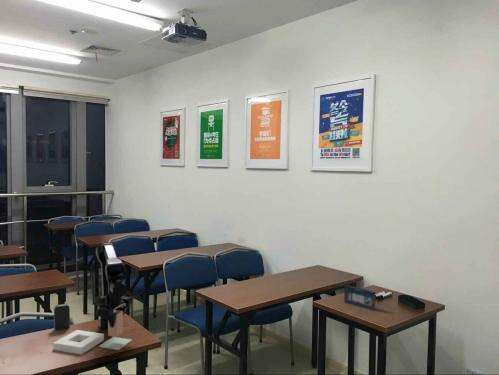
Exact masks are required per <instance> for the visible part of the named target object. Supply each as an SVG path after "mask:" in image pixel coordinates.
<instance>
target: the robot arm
mask: <svg viewBox="0 0 499 375" xmlns="http://www.w3.org/2000/svg"><path fill="white" fill-rule="evenodd" d="M95 256H96V257H97V258H96V259H97V260H98V262H99V263H100V269H101V287H102V288H101V289H102V290H101V291H102V295H101V296H97V297H95V299H94V304H95V306H97V309H96V310H95V312H96V316H97V317H99V320H100V322H99V323H100V324H99V326H98V327H97V328H98V329H100V330H101V329H103V330H108V321H109V324H110V326H111V327H112V328H113V327H114V324H115V320H116V316H117V313H115V310H120V311H123V317H124V316H125V314H126V312H127V309H128V308H129V306H131V305H132V304H134V299H133V298H132V297H130V296H125V295H126V293H127V291H128V290H127V286H126V285H125V283H124V282H123V280H125V279H127V273H128V272H127V270H126V269H127V268H126V266H125V264H124V263H123V262H122V259H120V258H118V257H117V254H116V246H115V244H114V242H106V243H105V242H104V243H102V244H100V245H99V246H96V248H95ZM126 304H127V305H126Z"/></svg>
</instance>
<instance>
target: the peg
mask: <svg viewBox="0 0 499 375" xmlns="http://www.w3.org/2000/svg"><path fill="white" fill-rule="evenodd" d="M115 313H117V316H116V320H115V324H114V327H113V328H112V327H111V326H110V324H109V321H108V329H107V336H109V337H118V338H119V337H120V336H121V335H122V334H123V333H124V316H123V311H120V310H115Z"/></svg>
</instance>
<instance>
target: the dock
mask: <svg viewBox="0 0 499 375" xmlns="http://www.w3.org/2000/svg"><path fill="white" fill-rule="evenodd" d="M104 339H105V334H104V333H99V332H95V331H94V332H93V331H86V330H83V329H82V330H79V329H76V330H74V331H72V332H71V333H69V334H66V335H65V336H63V337H61V338H60V339H58V340H56V341H54V342H52V345H53V346H52V350H53V351H59V352H65V353H70V354H74V355H75V354H77V355H83V354H85V353H86V352H88V351H89V350H91V349H93V348H94V347H96V346H97V345H99V344H100V343H102V342H105V340H104Z"/></svg>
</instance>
